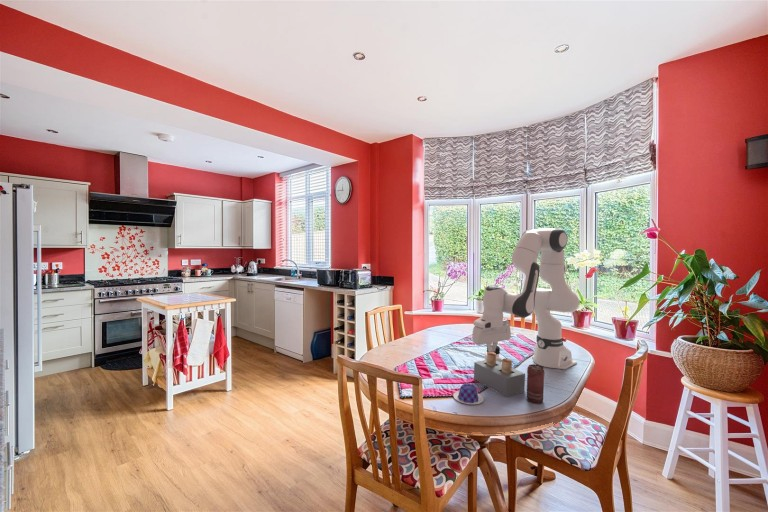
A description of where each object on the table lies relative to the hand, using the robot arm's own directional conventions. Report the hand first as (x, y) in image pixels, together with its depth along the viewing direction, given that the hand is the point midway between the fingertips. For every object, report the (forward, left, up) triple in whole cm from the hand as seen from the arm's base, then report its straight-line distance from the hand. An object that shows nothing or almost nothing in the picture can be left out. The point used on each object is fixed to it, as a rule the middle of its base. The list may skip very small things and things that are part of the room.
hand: (491, 351), depth 150 cm
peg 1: (0, 0, -8) cm, 8 cm away
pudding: (+20, +8, -14) cm, 26 cm away
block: (0, +4, -14) cm, 15 cm away
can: (-3, +21, -14) cm, 25 cm away
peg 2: (0, +9, -8) cm, 12 cm away
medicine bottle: (-11, -10, -14) cm, 21 cm away
